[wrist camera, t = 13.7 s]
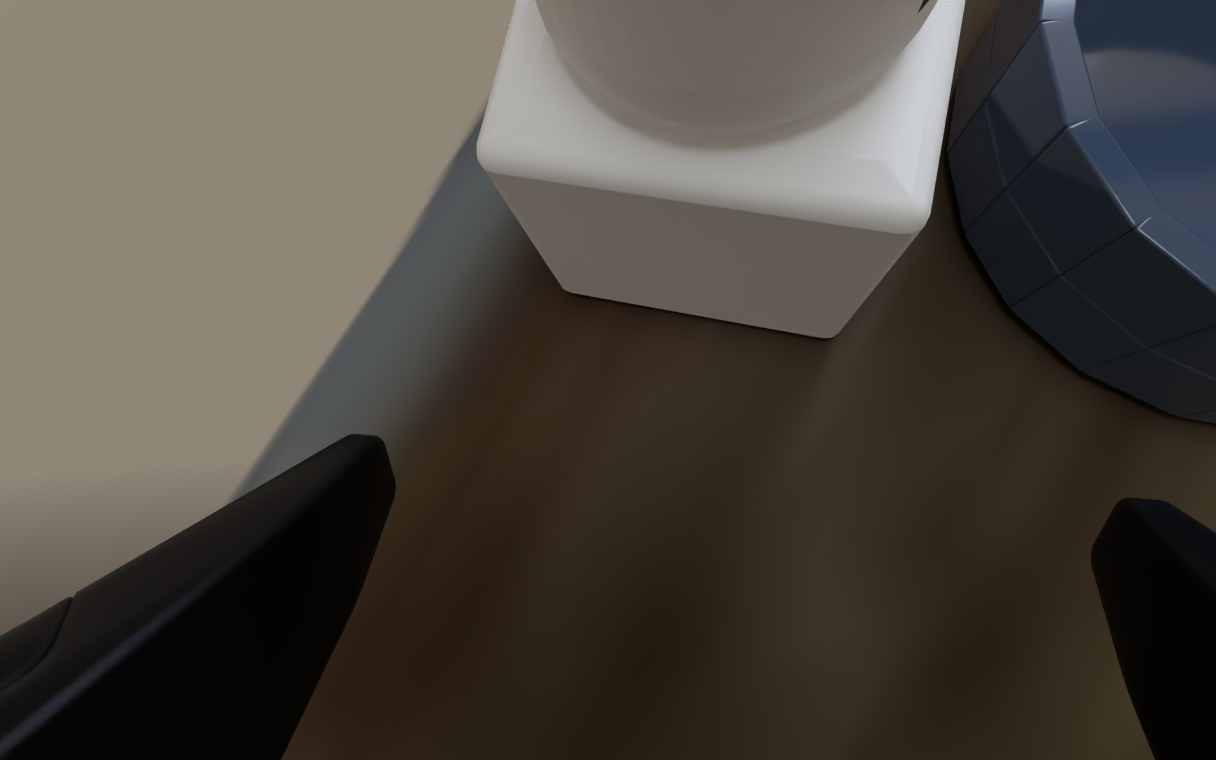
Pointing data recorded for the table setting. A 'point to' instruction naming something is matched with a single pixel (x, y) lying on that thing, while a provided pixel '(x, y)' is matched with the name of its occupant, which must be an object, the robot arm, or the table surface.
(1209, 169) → the blue round bowl
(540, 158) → the medicine bottle
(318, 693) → the table surface
